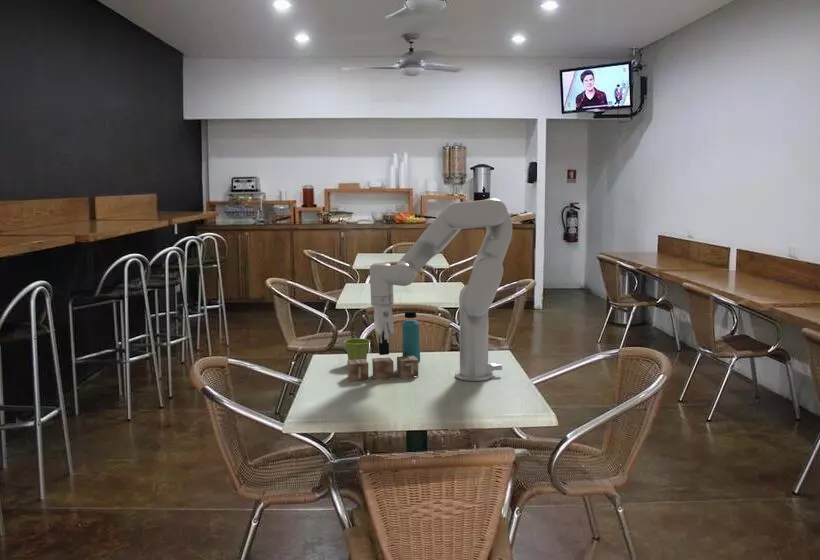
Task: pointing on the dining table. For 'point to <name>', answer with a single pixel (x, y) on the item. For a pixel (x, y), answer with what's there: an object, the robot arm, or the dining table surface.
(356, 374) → the block one
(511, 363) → the dining table surface
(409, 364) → the block seven
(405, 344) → the beverage bottle
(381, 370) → the plain block
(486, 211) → the robot arm
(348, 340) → the plant pot
